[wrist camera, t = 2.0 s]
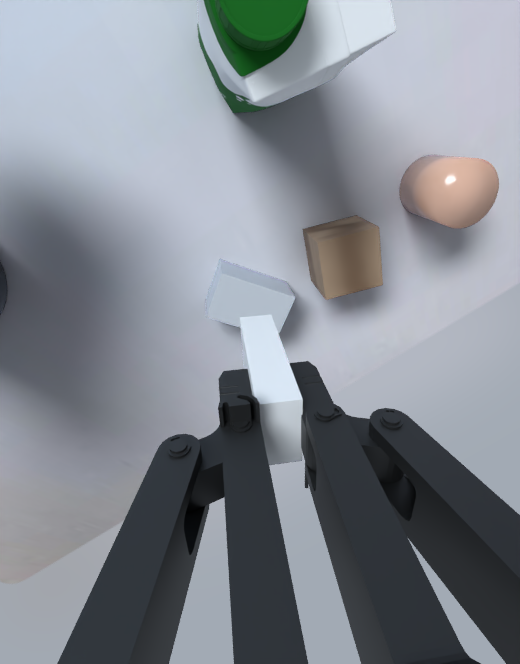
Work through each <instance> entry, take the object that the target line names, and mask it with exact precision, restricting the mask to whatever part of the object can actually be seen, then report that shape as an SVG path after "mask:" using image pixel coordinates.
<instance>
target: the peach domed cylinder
mask: <svg viewBox="0 0 520 664" xmlns="http://www.w3.org/2000/svg"><path fill="white" fill-rule="evenodd" d="M498 188H499V179H498V175H497V172H496V170H495V168H494V167H493V165H492V164H490V163H489V162H488V161H486V160H483V159H478V158H466V157H454V156H441V155H427V156H424V157H421V158H419V159H418V160H416V161H415V162H414V163H412V164H411V165H410V166H409V168H408V169H407V170H406V172H405V174H404V175H403V178H402V180H401V183H400V191H399V193H400V199H401V202H402V204H403V206H404V207H405V209H406V210H408V211H409V212H411V213H413V214H415V215H418V216H421V217H424V218H426V219H429V220H432V221H434V222H437V223H440V224H442V225H445V226H448V227H451V228H456V229H460V228H466V227H469V226H471V225H473V224H475V223H477V222H478V221H480V220H481V219H482V218H483V217H484V216H485V215H486V214H487V213H488V212H489V210H490V209H491V207H492V206H493V204H494V202H495V199H496V197H497V193H498Z"/></svg>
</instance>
